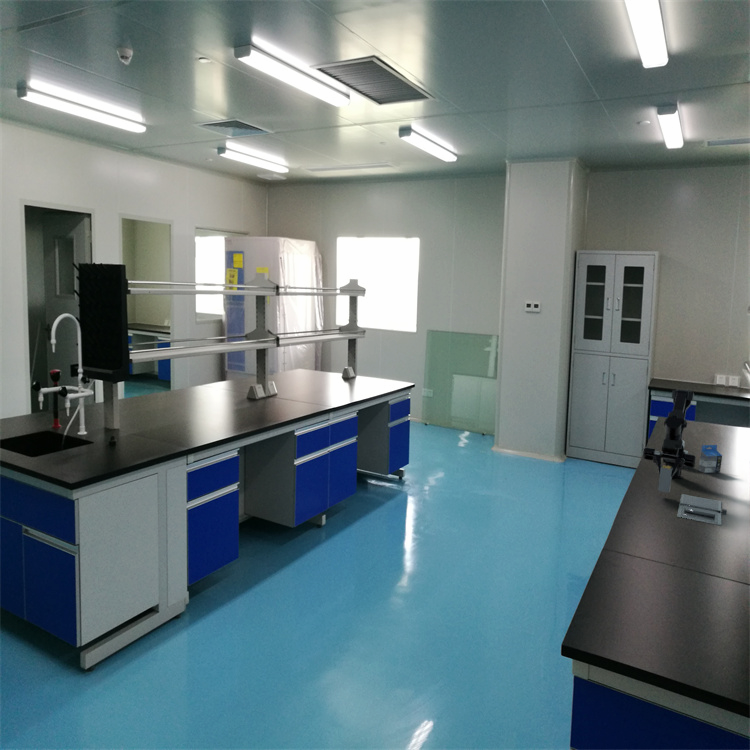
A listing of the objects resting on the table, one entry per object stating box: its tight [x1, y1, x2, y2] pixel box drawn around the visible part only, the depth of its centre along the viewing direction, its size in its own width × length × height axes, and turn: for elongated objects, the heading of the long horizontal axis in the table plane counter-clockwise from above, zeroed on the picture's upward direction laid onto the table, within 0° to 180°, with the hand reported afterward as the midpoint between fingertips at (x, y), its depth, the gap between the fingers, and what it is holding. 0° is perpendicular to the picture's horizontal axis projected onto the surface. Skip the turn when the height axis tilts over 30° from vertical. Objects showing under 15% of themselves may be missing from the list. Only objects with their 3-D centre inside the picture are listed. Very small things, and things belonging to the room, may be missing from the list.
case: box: [676, 493, 728, 526], centre depth 230 cm, size 29×16×2 cm, turn 151°
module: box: [657, 464, 673, 494], centre depth 242 cm, size 4×4×10 cm
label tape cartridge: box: [697, 444, 723, 474], centre depth 281 cm, size 9×4×12 cm, turn 105°
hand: (665, 475), depth 240 cm, fingers closed on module, 4 cm apart
